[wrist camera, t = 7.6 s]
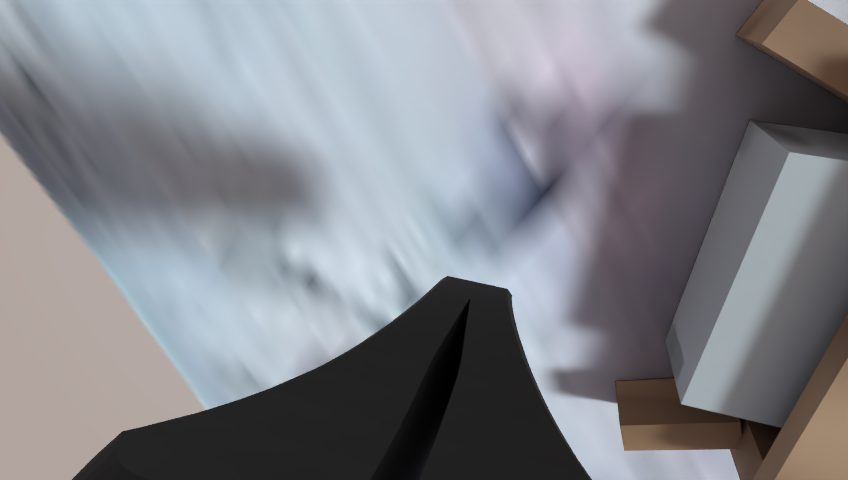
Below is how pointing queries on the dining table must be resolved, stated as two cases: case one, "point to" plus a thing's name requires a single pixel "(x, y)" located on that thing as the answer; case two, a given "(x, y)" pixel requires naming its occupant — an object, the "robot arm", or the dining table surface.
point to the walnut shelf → (843, 360)
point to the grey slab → (766, 277)
